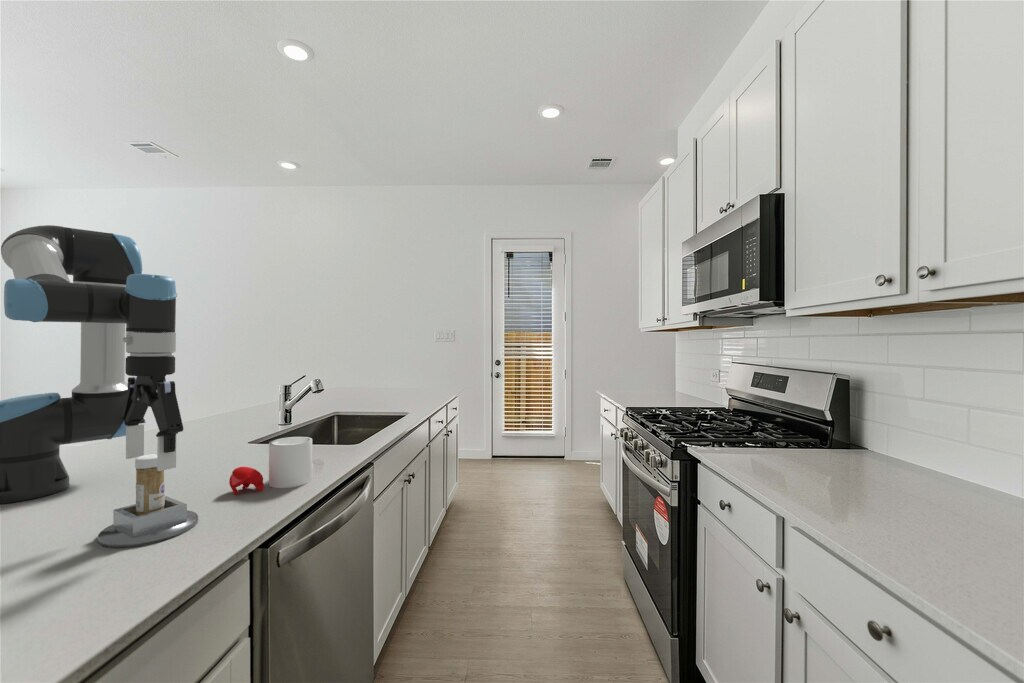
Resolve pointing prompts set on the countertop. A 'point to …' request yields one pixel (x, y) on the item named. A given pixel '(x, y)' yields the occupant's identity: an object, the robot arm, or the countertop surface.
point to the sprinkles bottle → (149, 485)
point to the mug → (290, 462)
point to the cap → (246, 479)
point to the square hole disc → (147, 525)
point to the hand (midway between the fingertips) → (150, 463)
